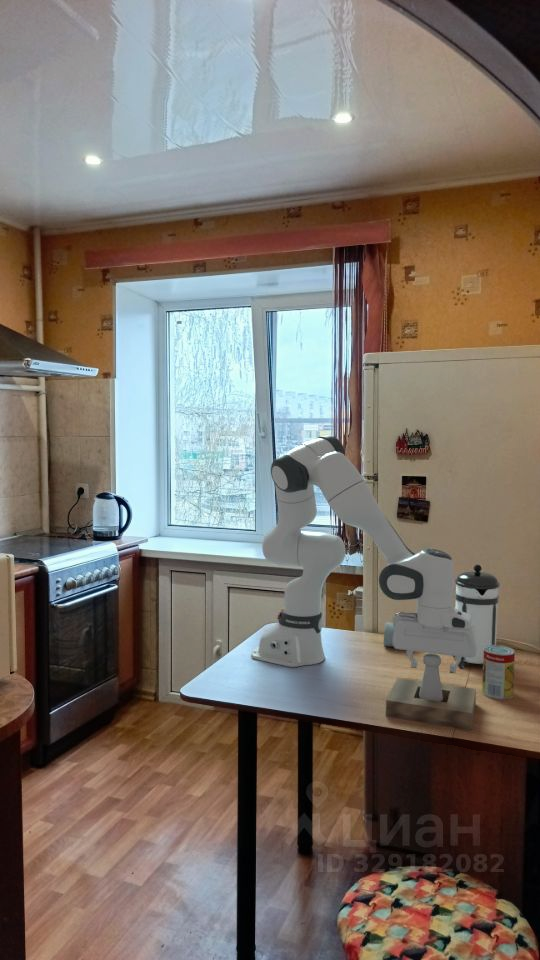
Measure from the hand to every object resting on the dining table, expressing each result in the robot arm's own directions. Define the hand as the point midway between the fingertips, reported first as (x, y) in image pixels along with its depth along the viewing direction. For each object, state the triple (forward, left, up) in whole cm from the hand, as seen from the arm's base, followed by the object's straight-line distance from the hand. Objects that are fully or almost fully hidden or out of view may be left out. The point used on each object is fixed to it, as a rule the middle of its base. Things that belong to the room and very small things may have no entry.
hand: (433, 669), depth 166 cm
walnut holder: (0, 0, -10) cm, 10 cm away
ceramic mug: (-17, +48, -10) cm, 52 cm away
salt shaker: (0, 0, -9) cm, 9 cm away
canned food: (+15, +17, -10) cm, 25 cm away
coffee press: (+7, +41, -10) cm, 43 cm away
